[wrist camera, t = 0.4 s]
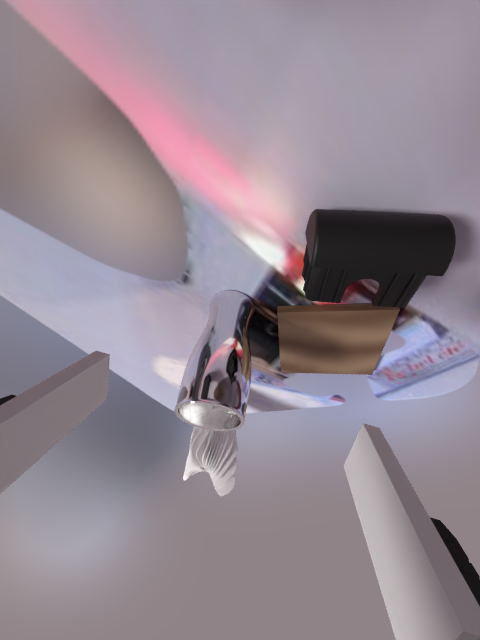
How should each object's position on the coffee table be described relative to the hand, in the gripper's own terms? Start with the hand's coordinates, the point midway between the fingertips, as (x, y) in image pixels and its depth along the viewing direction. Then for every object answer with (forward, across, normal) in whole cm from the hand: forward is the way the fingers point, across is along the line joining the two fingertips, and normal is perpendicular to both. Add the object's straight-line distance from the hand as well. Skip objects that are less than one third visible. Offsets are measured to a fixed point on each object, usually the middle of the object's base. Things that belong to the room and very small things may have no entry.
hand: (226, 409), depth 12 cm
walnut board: (+24, +11, -3) cm, 27 cm away
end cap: (+16, +8, +11) cm, 21 cm away
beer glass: (+21, -3, 0) cm, 21 cm away
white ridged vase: (+32, -3, -20) cm, 38 cm away
